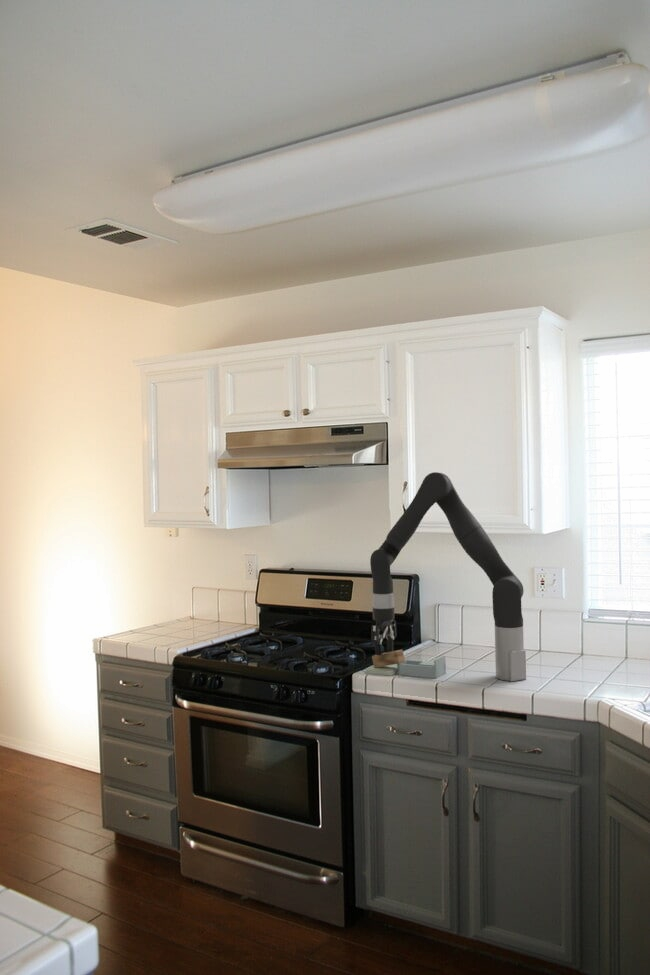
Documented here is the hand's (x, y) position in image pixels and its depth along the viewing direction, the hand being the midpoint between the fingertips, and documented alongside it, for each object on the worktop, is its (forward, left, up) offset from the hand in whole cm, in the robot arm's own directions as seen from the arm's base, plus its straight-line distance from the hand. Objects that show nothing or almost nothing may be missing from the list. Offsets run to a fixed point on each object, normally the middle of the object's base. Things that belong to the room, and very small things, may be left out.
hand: (384, 652), depth 290 cm
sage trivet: (0, 0, -6) cm, 6 cm away
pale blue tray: (-10, -9, -6) cm, 15 cm away
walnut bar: (-2, -1, -4) cm, 4 cm away
